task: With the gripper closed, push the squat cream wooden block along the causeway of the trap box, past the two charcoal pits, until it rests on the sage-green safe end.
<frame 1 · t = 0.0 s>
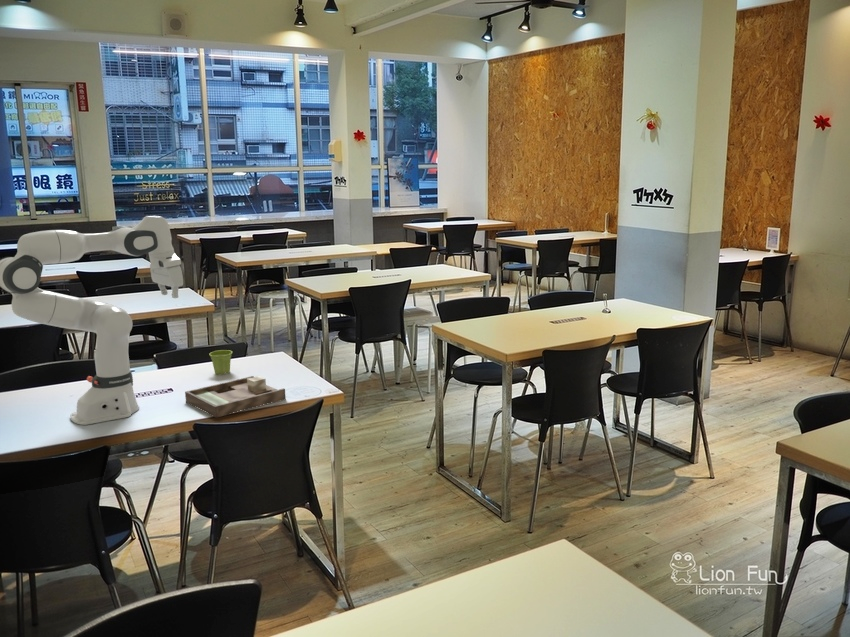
hand: (170, 296, 268), 39 cm above the table, tool pointing down, fingers open, 8 cm apart
trap box: (235, 400, 270), on the table
cream block: (256, 388, 275), point 2 cm above the table, touching trap box
plant pot: (222, 373, 307), on the table
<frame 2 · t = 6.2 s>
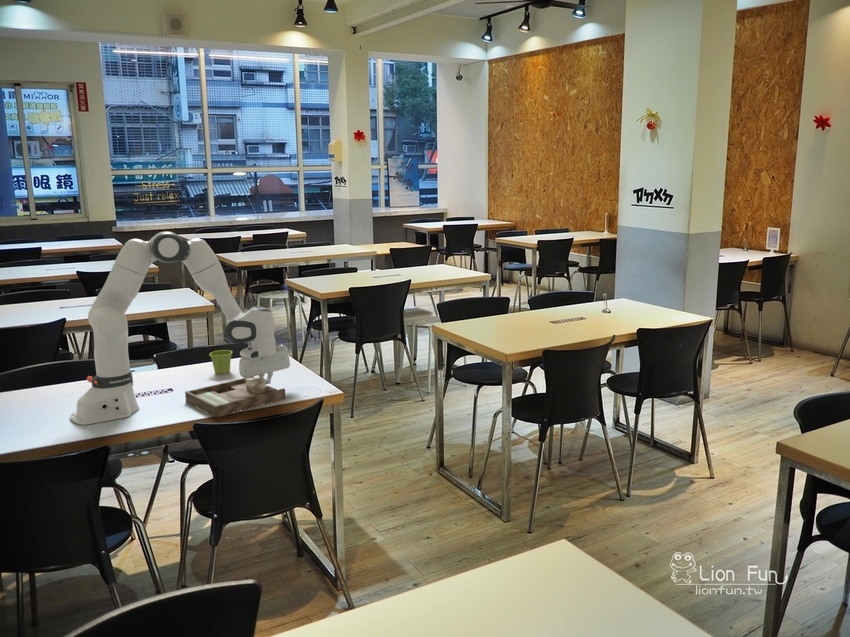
hand: (266, 384, 278), 3 cm above the table, tool pointing down, fingers closed
cream block: (255, 389, 275), point 3 cm above the table
everything else where it was.
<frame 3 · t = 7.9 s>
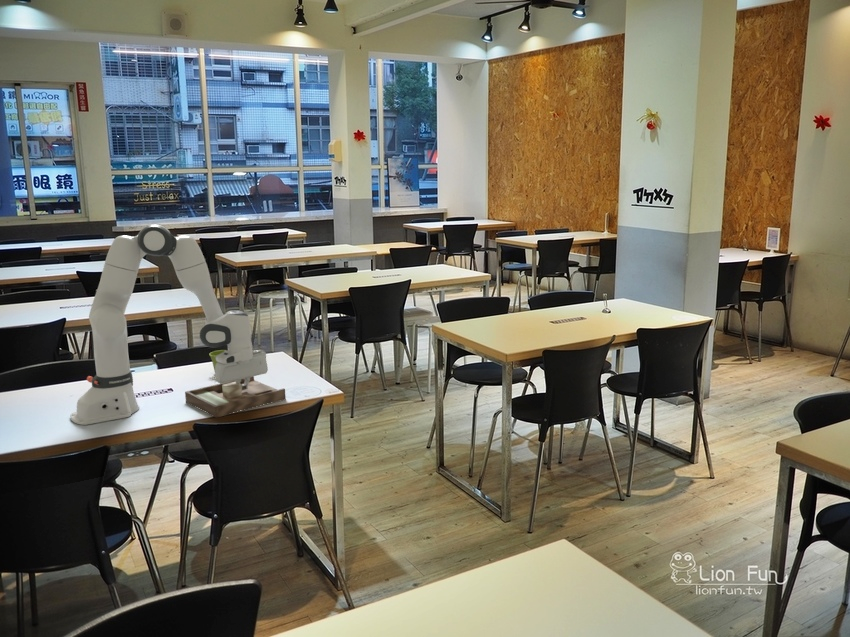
hand: (243, 389, 271), 3 cm above the table, tool pointing down, fingers closed
cream block: (232, 395, 268), point 2 cm above the table, touching gripper, trap box
everything else where it was.
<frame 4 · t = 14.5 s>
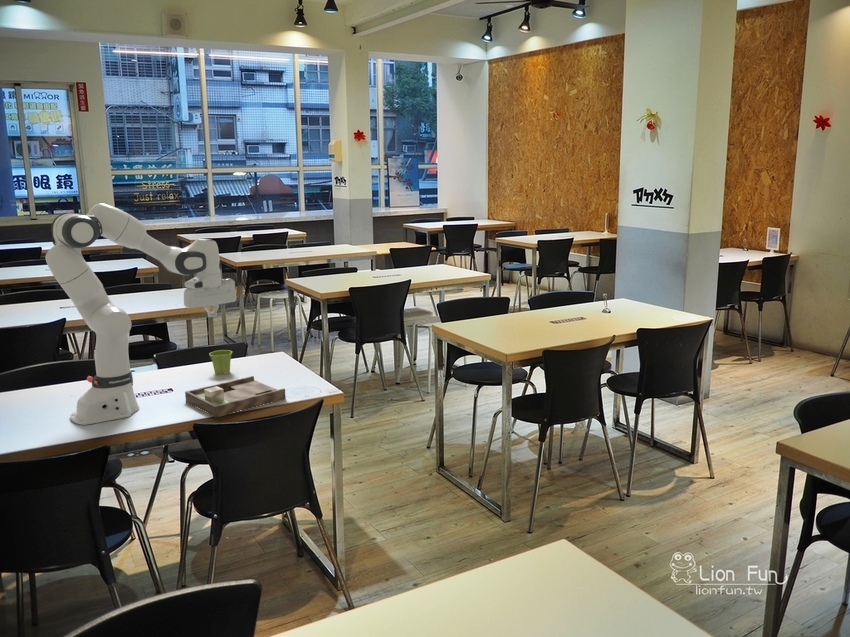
hand: (212, 316, 278), 29 cm above the table, tool pointing down, fingers closed
cream block: (214, 399, 263), point 2 cm above the table, touching trap box
everything else where it was.
at the end: cream block inside the target area on the trap box (0.6 cm from its centre), point 2.5 cm above the trap box's base; cream block tilted 0° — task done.
